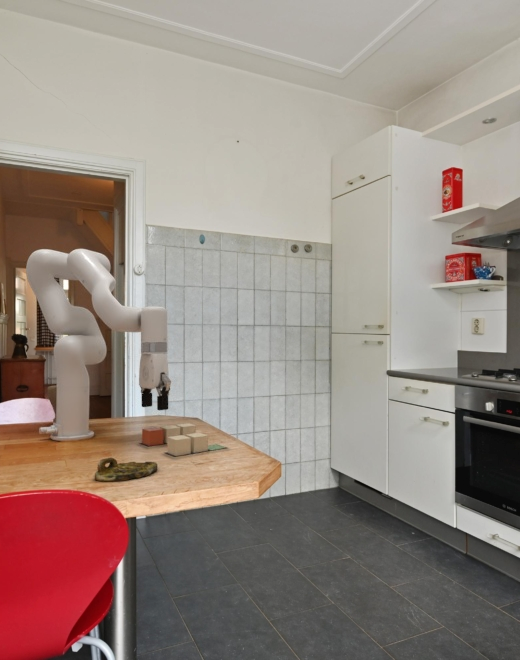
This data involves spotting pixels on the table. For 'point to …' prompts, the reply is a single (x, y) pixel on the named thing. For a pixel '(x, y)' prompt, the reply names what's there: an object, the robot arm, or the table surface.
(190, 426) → the left rack
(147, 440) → the rust orange cube
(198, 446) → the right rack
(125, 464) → the seal
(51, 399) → the stone cup
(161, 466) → the table surface
